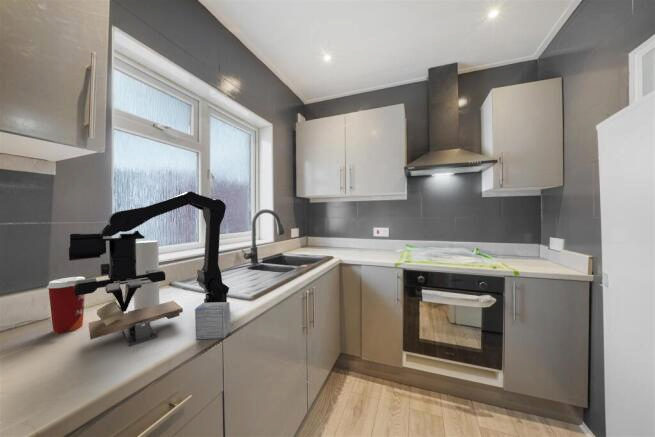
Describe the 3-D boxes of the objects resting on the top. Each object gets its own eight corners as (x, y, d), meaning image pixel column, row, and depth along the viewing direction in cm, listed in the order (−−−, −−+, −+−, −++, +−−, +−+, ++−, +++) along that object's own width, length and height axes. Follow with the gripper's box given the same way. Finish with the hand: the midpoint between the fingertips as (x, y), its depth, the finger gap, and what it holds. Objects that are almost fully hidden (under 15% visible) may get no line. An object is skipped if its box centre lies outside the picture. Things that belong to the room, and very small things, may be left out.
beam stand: (146, 321, 75) (146, 306, 75) (157, 337, 65) (157, 320, 65) (121, 328, 71) (121, 312, 71) (129, 346, 61) (129, 328, 61)
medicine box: (230, 331, 68) (230, 301, 68) (224, 339, 64) (223, 307, 64) (203, 332, 68) (202, 302, 68) (195, 340, 64) (194, 308, 64)
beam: (173, 308, 79) (173, 300, 79) (183, 316, 72) (182, 308, 72) (89, 332, 64) (88, 322, 64) (90, 345, 57) (90, 334, 57)
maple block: (123, 310, 67) (114, 300, 66) (124, 314, 64) (115, 303, 63) (106, 321, 65) (96, 310, 63) (106, 325, 62) (96, 314, 61)
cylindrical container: (164, 307, 87) (163, 240, 87) (147, 315, 80) (146, 242, 80) (146, 307, 88) (145, 240, 88) (128, 315, 81) (127, 242, 81)
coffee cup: (91, 326, 73) (90, 278, 73) (51, 338, 66) (50, 284, 66) (82, 320, 77) (82, 274, 77) (44, 331, 70) (43, 280, 70)
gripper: (156, 249, 78) (157, 296, 78) (74, 257, 64) (75, 313, 64) (165, 252, 70) (166, 304, 70) (74, 262, 57) (75, 326, 57)
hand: (124, 311), depth 66 cm, fingers closed
